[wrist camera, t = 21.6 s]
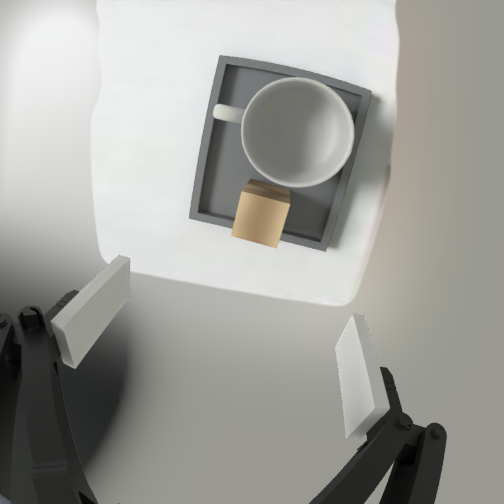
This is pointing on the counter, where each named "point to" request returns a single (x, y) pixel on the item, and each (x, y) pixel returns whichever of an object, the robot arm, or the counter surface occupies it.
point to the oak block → (261, 213)
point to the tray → (241, 170)
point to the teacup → (294, 131)
